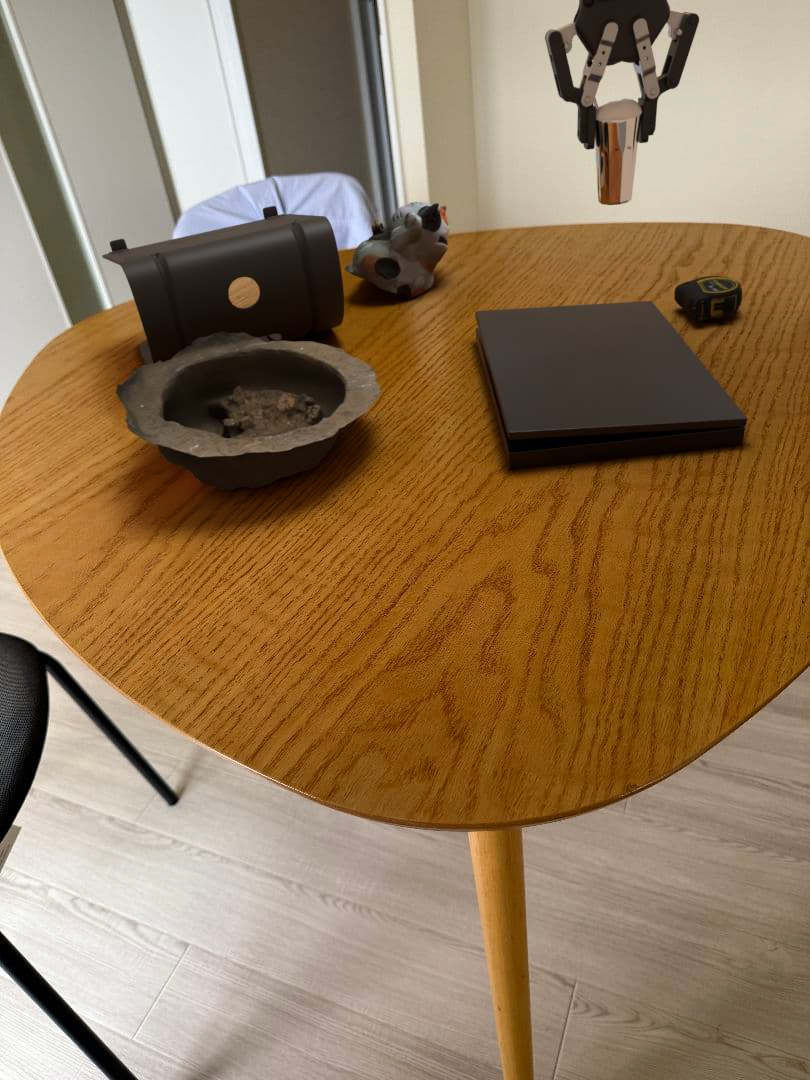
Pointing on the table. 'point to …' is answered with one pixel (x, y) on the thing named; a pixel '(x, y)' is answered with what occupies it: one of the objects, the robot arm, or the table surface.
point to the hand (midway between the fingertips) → (615, 143)
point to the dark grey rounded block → (215, 262)
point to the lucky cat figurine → (404, 249)
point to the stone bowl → (247, 406)
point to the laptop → (601, 439)
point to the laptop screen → (598, 372)
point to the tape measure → (709, 297)
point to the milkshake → (616, 149)
